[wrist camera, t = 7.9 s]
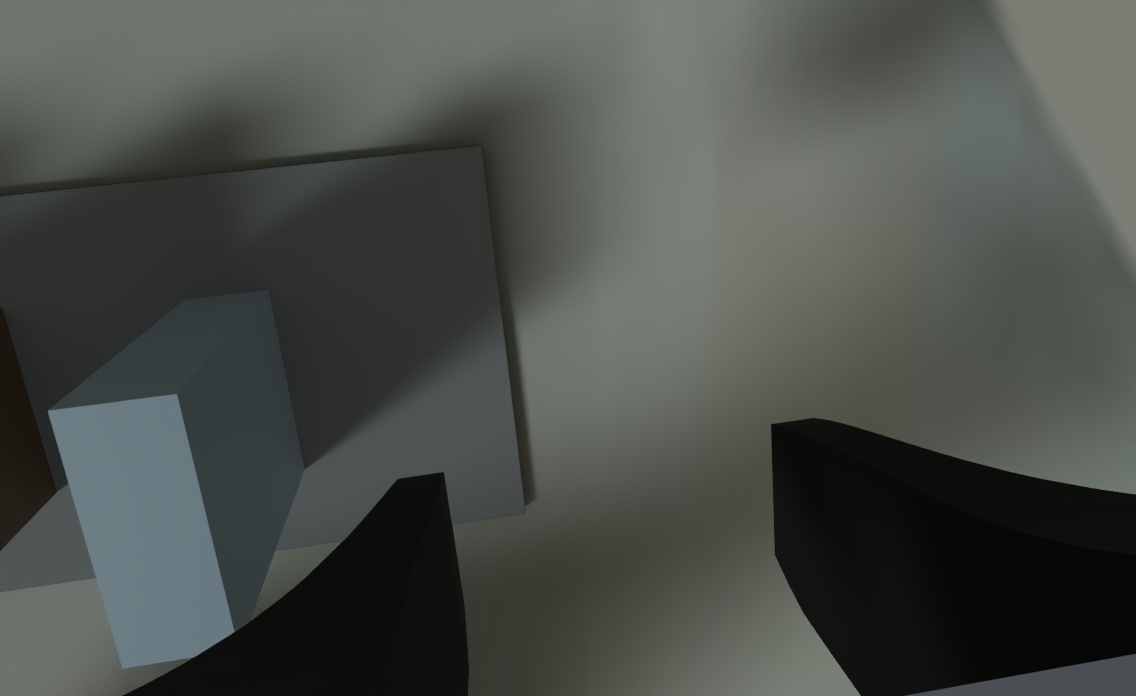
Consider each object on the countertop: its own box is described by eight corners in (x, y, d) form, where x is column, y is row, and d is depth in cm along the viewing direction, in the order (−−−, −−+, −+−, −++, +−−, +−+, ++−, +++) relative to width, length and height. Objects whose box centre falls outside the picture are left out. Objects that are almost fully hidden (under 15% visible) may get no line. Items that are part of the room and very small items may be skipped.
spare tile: (268, 289, 19) (176, 393, 13) (304, 469, 21) (239, 649, 14) (184, 299, 19) (47, 411, 13) (226, 480, 20) (122, 668, 14)
